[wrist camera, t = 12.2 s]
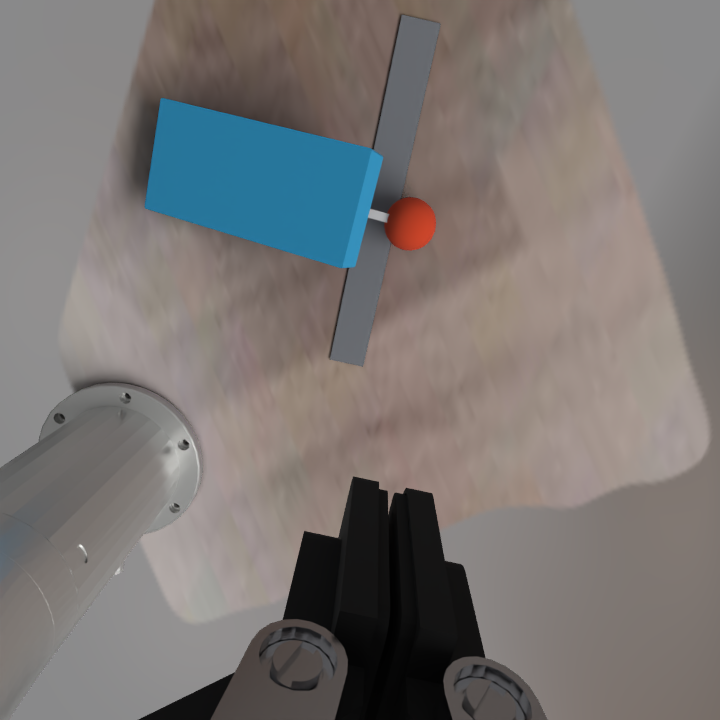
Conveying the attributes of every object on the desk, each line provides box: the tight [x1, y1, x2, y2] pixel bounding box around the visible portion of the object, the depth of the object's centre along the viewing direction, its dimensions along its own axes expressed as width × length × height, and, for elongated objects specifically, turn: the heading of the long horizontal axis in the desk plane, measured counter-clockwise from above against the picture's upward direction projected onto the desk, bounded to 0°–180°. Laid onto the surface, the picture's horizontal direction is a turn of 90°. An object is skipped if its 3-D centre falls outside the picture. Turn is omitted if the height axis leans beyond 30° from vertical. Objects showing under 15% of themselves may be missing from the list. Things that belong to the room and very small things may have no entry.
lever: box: [145, 98, 436, 268], centre depth 36 cm, size 7×7×18 cm
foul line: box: [330, 15, 441, 367], centre depth 37 cm, size 23×2×1 cm, turn 168°
